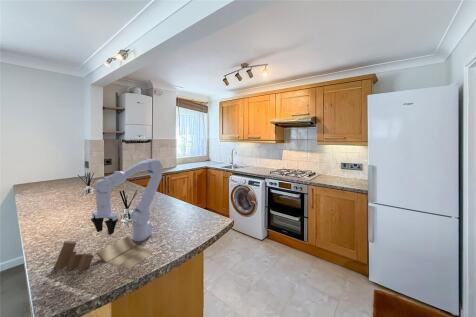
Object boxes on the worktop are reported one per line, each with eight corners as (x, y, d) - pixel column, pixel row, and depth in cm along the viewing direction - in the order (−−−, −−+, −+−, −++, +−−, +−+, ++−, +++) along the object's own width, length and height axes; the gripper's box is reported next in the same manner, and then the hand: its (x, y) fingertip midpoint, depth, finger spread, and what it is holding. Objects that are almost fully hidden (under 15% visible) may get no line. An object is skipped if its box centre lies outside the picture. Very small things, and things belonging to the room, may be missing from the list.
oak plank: (126, 238, 108) (127, 236, 108) (136, 247, 106) (137, 245, 106) (96, 253, 93) (96, 251, 93) (106, 264, 91) (107, 262, 91)
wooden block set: (90, 274, 89) (100, 249, 91) (68, 278, 81) (79, 249, 84) (68, 261, 97) (78, 238, 100) (46, 263, 90) (57, 237, 92)
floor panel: (137, 247, 106) (137, 245, 106) (156, 252, 101) (156, 250, 101) (107, 265, 91) (107, 262, 91) (128, 272, 87) (128, 269, 86)
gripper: (84, 205, 99) (86, 233, 100) (106, 209, 94) (108, 238, 95) (99, 201, 106) (100, 227, 107) (120, 204, 101) (122, 232, 102)
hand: (105, 232), depth 101 cm, fingers open, 7 cm apart
